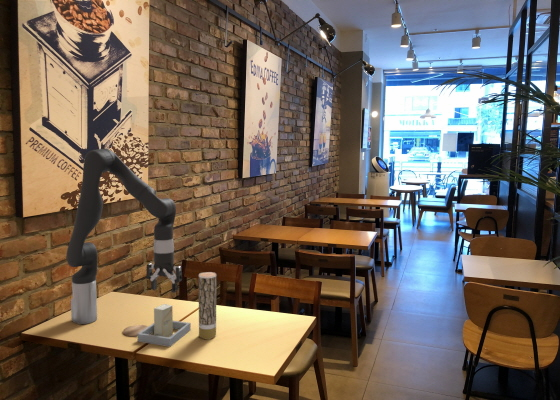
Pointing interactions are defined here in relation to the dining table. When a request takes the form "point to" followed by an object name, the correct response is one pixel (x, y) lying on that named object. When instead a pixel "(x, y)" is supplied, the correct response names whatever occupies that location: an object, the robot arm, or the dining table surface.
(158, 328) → the skincare box
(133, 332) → the cork coaster
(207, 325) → the paper tube
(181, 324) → the parts bin
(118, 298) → the dining table surface
